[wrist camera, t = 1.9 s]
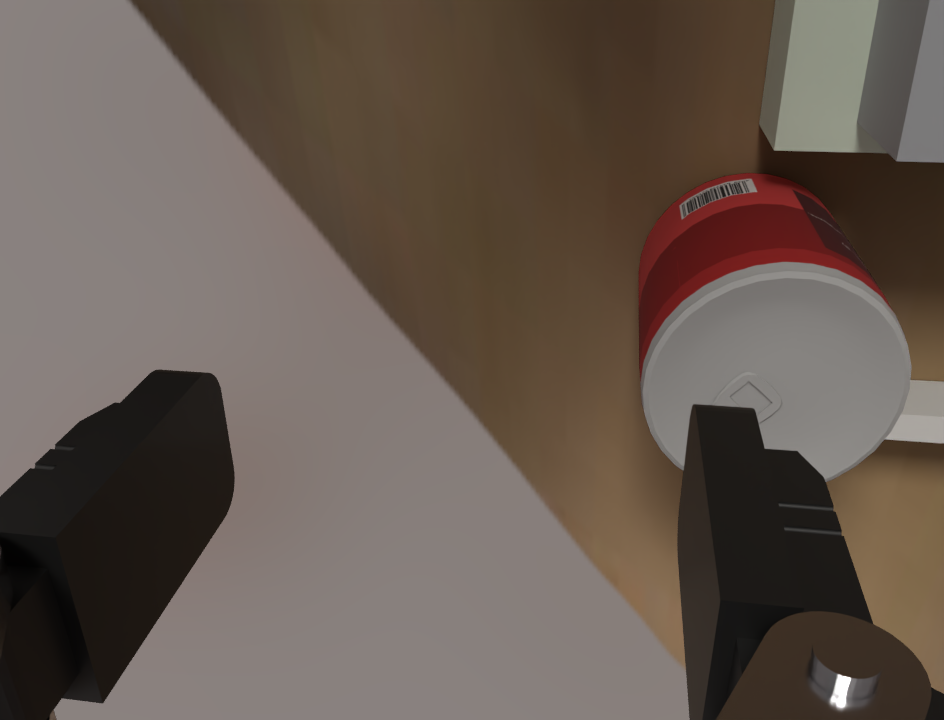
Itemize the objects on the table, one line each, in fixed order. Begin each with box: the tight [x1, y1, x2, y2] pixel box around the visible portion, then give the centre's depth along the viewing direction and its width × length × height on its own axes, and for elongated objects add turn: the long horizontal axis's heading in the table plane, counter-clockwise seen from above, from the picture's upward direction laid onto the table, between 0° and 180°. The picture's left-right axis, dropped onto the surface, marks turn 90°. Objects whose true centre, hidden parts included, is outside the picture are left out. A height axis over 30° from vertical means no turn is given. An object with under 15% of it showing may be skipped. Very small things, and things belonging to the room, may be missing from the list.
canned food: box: [639, 173, 911, 482], centre depth 31 cm, size 8×8×11 cm
